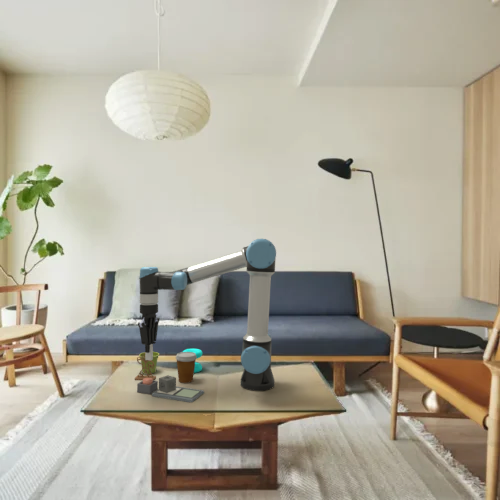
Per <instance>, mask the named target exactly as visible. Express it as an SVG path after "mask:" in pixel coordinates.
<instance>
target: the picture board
mask: <svg viewBox="0 0 500 500" xmlns="http://www.w3.org/2000/svg"><path fill="white" fill-rule="evenodd" d="M204 393H205V391H204V390H203V389H197V388H190V387H184V386H183V387H182V386H177V385H176V390H174V391H171V392H168V393H165V392H162V391H159V388H158V389H157V390H155V391H154V392H152V393H151V396H152V397H155V398H160V399H167V400H173V401H181V402H186V403H193V402H194V401H196V400H197V399H199V397H200V396H202V395H203V394H204Z"/></svg>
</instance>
